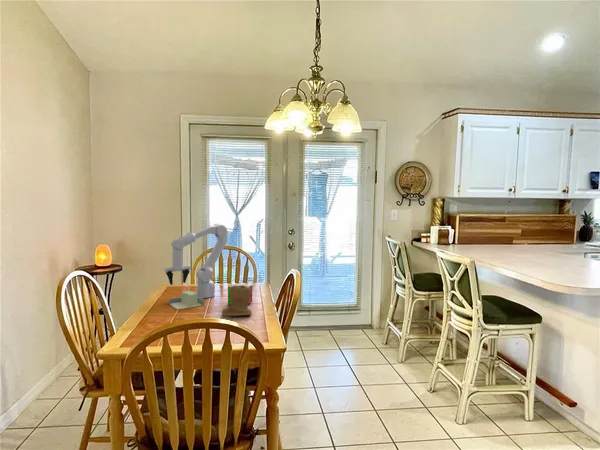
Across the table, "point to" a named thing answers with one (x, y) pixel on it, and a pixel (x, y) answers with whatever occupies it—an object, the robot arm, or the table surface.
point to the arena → (178, 305)
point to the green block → (189, 298)
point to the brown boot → (238, 301)
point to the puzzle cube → (240, 285)
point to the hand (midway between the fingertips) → (177, 283)
